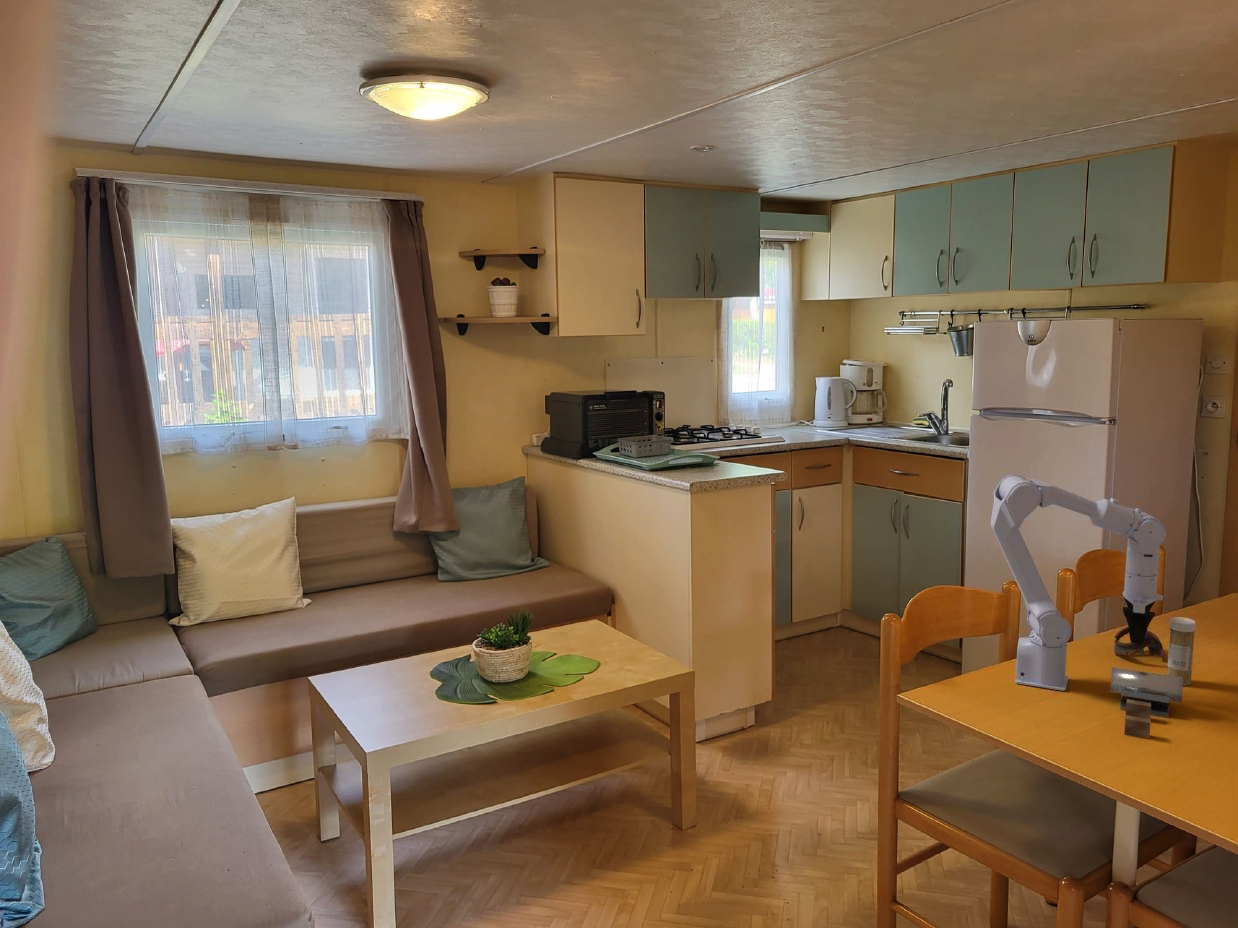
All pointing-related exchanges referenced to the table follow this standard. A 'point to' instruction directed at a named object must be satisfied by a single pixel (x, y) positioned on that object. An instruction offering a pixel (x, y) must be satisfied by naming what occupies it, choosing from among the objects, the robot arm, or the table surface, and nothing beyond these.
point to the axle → (1147, 683)
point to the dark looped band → (1138, 645)
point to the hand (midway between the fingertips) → (1137, 637)
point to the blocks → (1137, 719)
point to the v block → (1157, 701)
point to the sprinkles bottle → (1181, 648)
